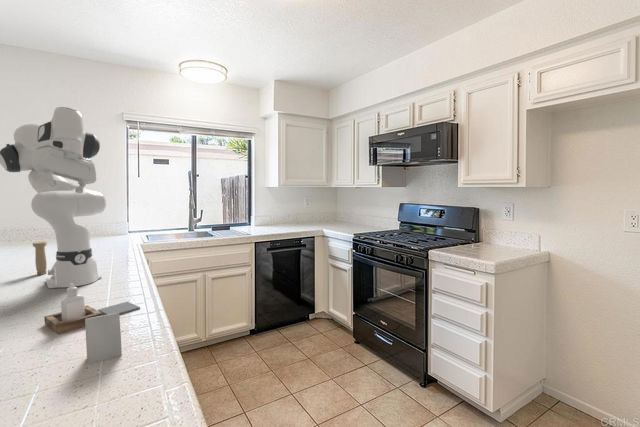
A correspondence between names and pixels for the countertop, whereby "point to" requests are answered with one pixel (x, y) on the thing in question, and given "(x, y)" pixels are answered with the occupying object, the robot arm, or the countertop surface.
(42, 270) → the handle
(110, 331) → the white rectangular box
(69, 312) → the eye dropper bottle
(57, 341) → the countertop surface
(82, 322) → the block
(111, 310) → the coaster
